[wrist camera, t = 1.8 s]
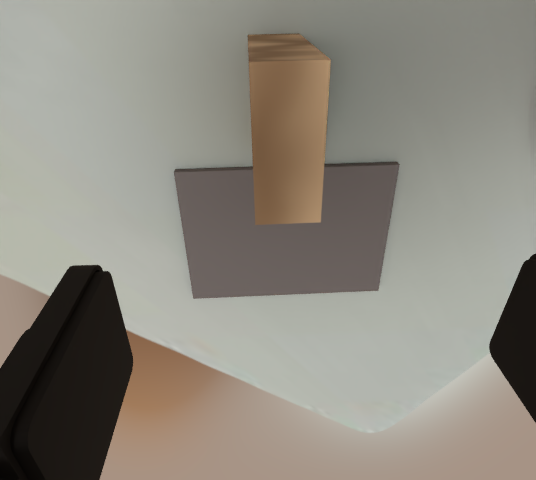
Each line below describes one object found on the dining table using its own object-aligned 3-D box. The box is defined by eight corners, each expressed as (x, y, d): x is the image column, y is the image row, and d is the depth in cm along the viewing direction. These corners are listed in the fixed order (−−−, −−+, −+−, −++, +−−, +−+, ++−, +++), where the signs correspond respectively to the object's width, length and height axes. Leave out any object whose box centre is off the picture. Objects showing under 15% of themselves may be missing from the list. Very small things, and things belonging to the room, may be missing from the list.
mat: (397, 161, 32) (399, 164, 32) (376, 286, 39) (378, 290, 39) (175, 169, 32) (174, 172, 31) (194, 294, 39) (193, 298, 38)
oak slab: (299, 33, 27) (332, 59, 17) (297, 147, 31) (321, 222, 21) (247, 34, 27) (248, 61, 17) (252, 148, 31) (255, 224, 21)
